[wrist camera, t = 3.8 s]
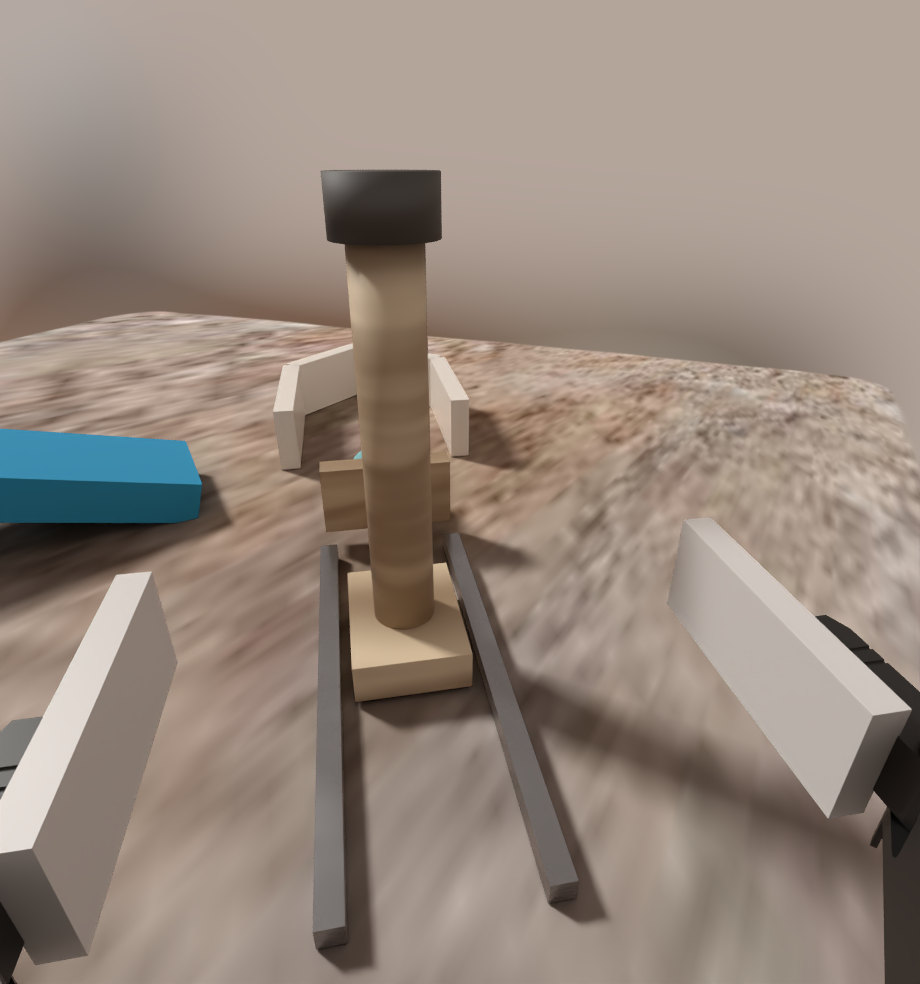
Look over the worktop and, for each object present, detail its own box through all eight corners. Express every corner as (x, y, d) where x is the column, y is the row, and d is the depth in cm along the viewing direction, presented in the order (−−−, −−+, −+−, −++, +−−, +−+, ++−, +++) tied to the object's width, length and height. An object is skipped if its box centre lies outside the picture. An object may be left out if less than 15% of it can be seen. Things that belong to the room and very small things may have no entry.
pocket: (468, 455, 43) (469, 399, 41) (281, 469, 41) (273, 411, 39) (434, 382, 57) (433, 338, 55) (293, 390, 55) (287, 345, 53)
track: (576, 898, 17) (578, 881, 17) (316, 949, 16) (312, 932, 16) (458, 545, 33) (458, 532, 32) (322, 559, 32) (320, 546, 31)
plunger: (497, 682, 24) (517, 172, 16) (327, 705, 23) (254, 173, 15) (446, 523, 34) (442, 166, 26) (328, 534, 33) (285, 166, 25)
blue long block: (175, 538, 42) (-198, 541, 33) (185, 441, 40) (-214, 414, 31) (189, 592, 37) (-251, 615, 28) (202, 484, 35) (-275, 468, 25)
